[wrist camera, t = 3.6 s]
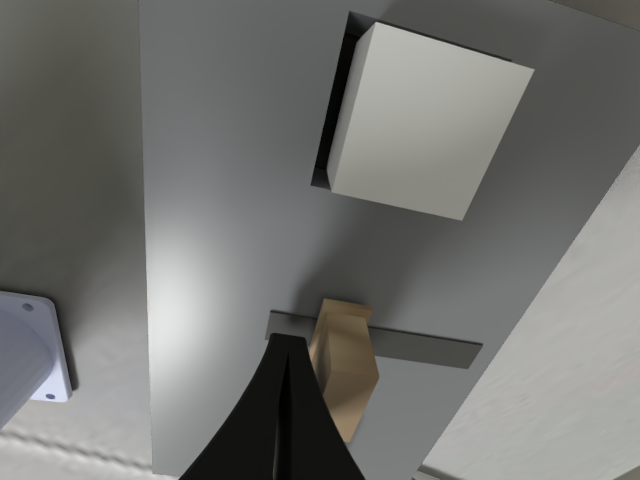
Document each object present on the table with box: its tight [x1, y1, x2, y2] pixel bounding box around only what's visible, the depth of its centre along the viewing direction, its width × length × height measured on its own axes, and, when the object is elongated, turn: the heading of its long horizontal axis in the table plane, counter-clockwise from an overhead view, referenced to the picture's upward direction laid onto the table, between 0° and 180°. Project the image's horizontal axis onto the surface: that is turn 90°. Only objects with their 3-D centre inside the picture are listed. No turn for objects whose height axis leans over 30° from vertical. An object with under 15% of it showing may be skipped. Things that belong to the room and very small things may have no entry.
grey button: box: [326, 22, 534, 221], centre depth 9 cm, size 4×4×3 cm
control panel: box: [138, 0, 640, 480], centre depth 15 cm, size 16×26×3 cm, turn 167°
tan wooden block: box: [309, 298, 380, 442], centre depth 12 cm, size 2×4×3 cm, turn 167°
